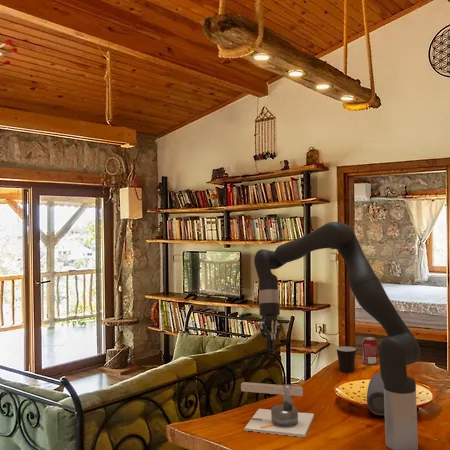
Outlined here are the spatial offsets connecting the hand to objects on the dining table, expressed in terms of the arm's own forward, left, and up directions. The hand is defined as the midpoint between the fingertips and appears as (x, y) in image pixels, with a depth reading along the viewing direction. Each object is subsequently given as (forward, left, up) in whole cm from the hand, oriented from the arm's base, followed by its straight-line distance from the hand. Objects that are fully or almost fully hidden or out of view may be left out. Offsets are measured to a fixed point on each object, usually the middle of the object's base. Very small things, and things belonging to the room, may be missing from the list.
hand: (271, 350), depth 184 cm
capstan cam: (-3, +11, -21) cm, 24 cm away
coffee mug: (-20, -54, -22) cm, 62 cm away
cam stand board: (-5, +11, -22) cm, 25 cm away
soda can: (-30, -70, -22) cm, 80 cm away
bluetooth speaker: (-37, -13, -22) cm, 45 cm away
